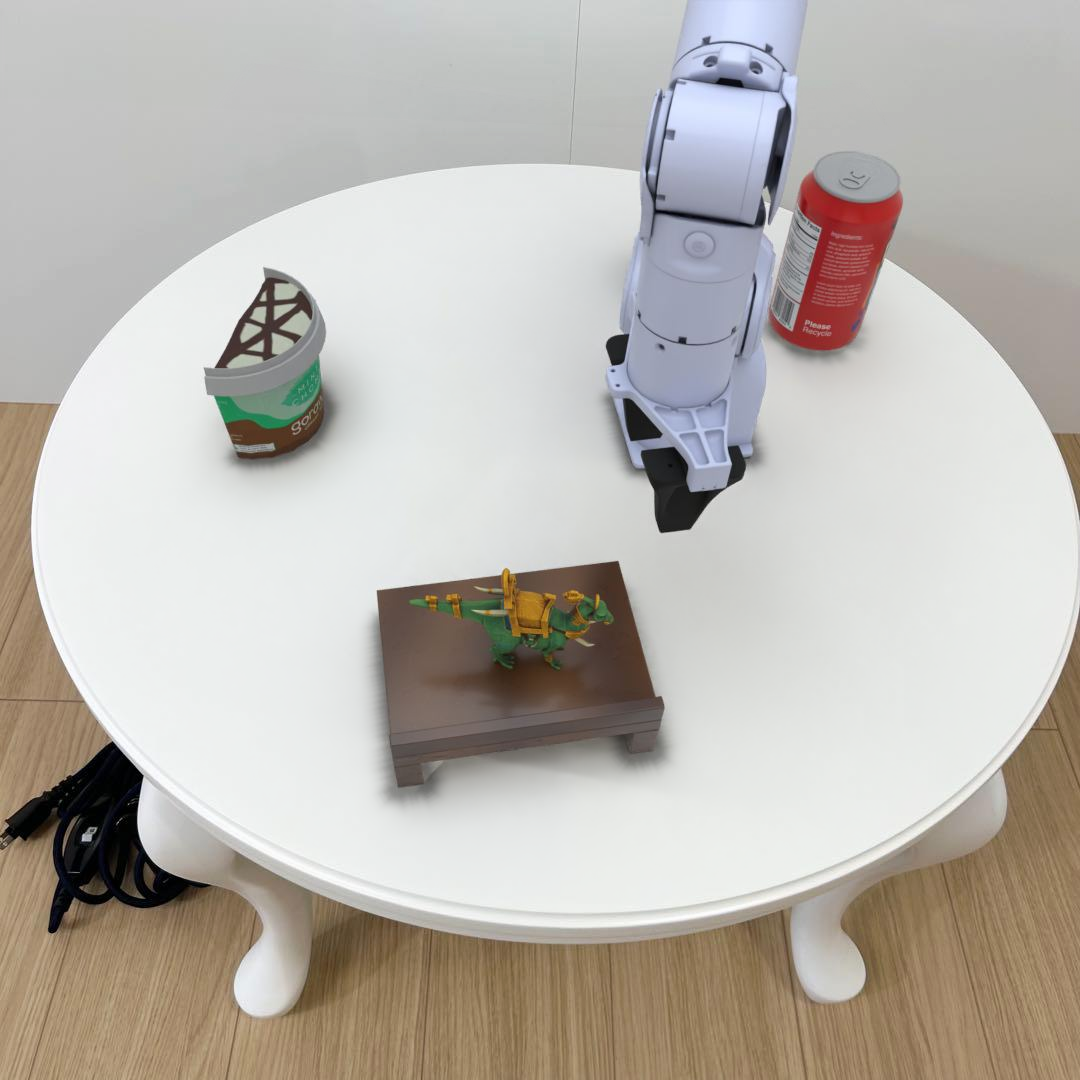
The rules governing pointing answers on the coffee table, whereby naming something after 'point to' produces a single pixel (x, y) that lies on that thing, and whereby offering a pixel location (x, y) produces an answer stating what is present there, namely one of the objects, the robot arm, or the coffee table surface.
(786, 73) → the robot arm
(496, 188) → the coffee table surface
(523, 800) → the coffee table surface
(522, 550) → the coffee table surface
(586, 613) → the figurine
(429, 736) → the display stand
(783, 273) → the soda can
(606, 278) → the coffee table surface
